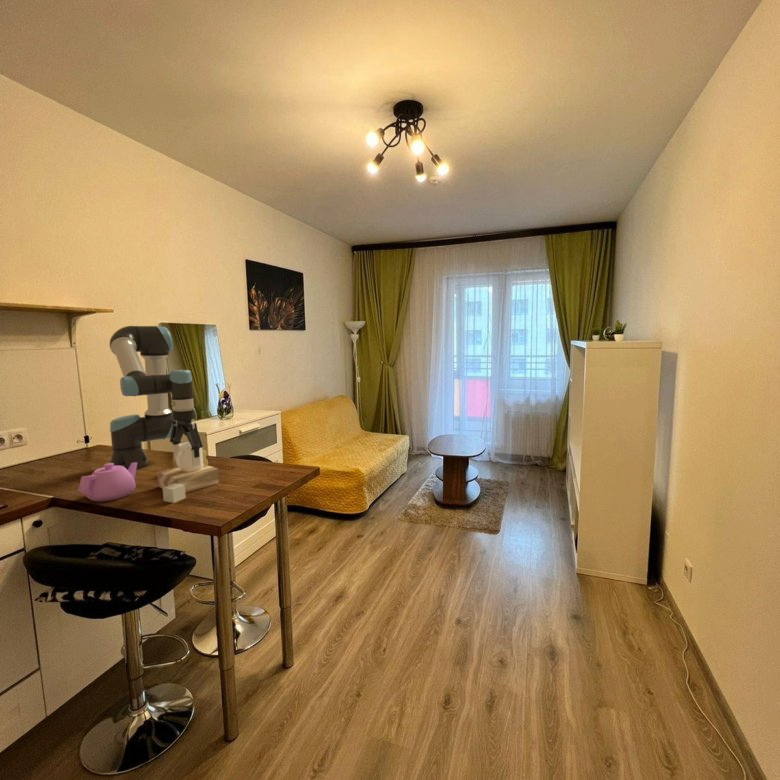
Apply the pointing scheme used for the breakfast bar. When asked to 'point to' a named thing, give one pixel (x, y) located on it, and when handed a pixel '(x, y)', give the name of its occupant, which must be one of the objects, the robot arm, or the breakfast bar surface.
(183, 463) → the mug
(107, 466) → the teapot
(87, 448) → the breakfast bar surface
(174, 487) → the beige block
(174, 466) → the cheese
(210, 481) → the oak block
